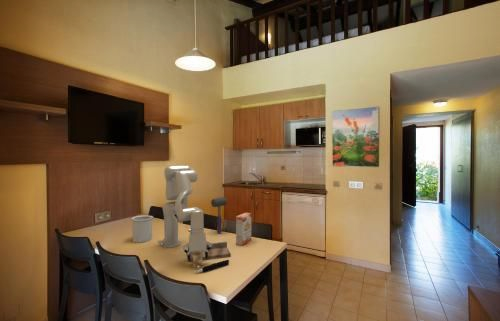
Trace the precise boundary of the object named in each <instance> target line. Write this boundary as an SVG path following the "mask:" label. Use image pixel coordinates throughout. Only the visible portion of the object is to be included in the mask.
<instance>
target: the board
mask: <svg viewBox="0 0 500 321" xmlns="http://www.w3.org/2000/svg"><path fill="white" fill-rule="evenodd" d="M211 243H212V242H211ZM206 245H207V247H206V248H208V247H209V245H208V244H206ZM188 250H189V246H188V247H187V251H188ZM201 251H202V261H207V260H214V259H221V258H230V257H231V256H232V254H231V252H230V250H229V248H228V241H221V242H213V243H212V246H211V249H210V250H209V251H208V257H207V259H206V258H205V250H201ZM187 260H188V259H187ZM188 263H193V252H190V261H189V260H188Z"/></svg>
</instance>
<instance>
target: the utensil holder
mask: <svg viewBox="0 0 500 321" xmlns="http://www.w3.org/2000/svg"><path fill="white" fill-rule="evenodd" d="M153 219H154V216H153V215H138V216H134V217H132V218H131V221H132V222H131V224H132V243H136V244H137V243H146V242H149V241H151V240H152V239H153Z"/></svg>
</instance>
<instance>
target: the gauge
mask: <svg viewBox="0 0 500 321" xmlns="http://www.w3.org/2000/svg"><path fill="white" fill-rule="evenodd" d="M192 265H193V268H197V270H199V269H201V267H203V260H202V251H193V262H192Z"/></svg>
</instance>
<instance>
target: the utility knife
mask: <svg viewBox="0 0 500 321" xmlns="http://www.w3.org/2000/svg"><path fill="white" fill-rule="evenodd" d="M229 264H230V260H229V259H225V260H222V261H221V260H220V261H219V262H218V261H217V262H213V263H211V264H207V265H205V266H202V267H201V268H200V269H197V270H193V273H206V272H209V271H212V270H215V269H219V268H222V267H224V266H225V267H226V266H227V265H229Z"/></svg>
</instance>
